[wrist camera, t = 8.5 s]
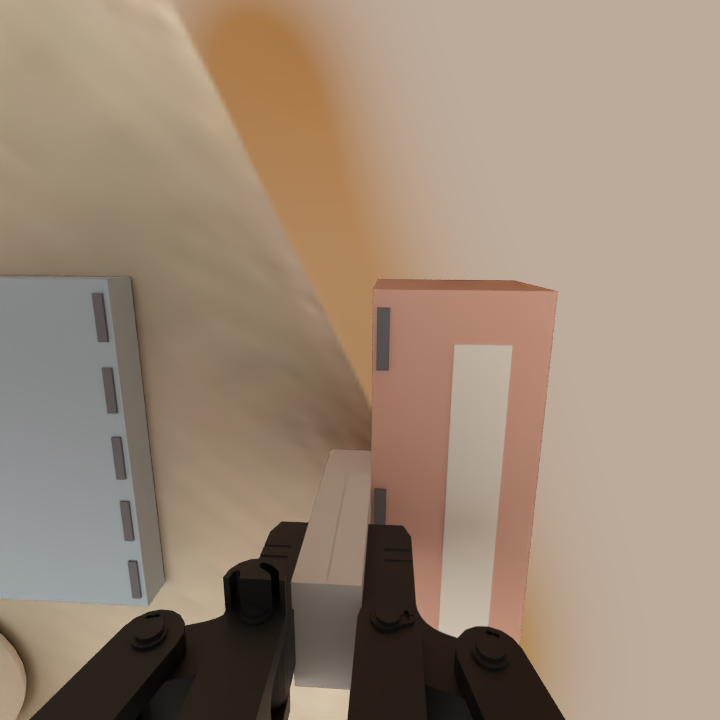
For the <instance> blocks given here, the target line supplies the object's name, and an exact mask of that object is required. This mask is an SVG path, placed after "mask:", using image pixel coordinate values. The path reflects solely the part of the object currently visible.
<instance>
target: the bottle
mask: <svg viewBox="0 0 720 720" xmlns="http://www.w3.org/2000/svg"><path fill="white" fill-rule="evenodd" d="M26 681H27V678H26V674H25V670H24V666H23V663H22V661H21V659H20V657H19V655H18V654H17V652H16V650H15V648H14V647H13V646H12V645H11V644H10V643H9V642H8V640H7V639H6V638H5V637H4V636H3V635H2V634H1V633H0V720H16V718H17V716H18V714H19V712H20V710H21V707H22V705H23V702H24V698H25V694H26Z"/></svg>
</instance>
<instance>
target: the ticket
mask: <svg viewBox="0 0 720 720" xmlns="http://www.w3.org/2000/svg"><path fill="white" fill-rule="evenodd" d="M164 583H165V578H164V569H163V561H162V552H161V543H160V534H159V525H158V516H157V508H156V499H155V490H154V481H153V472H152V463H151V455H150V446H149V437H148V428H147V419H146V410H145V402H144V393H143V384H142V375H141V366H140V358H139V349H138V340H137V331H136V322H135V313H134V305H133V296H132V287H131V278H130V277H107V276H0V598H1V599H18V600H36V601H54V602H71V603H89V604H107V605H125V606H142V607H148V606H149V605H150V603H151V602H152V600H153V599H154V598H155V596H156V595H157V593H158V592H159V590H160V589H161V587H162V586H163V584H164Z"/></svg>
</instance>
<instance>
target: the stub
mask: <svg viewBox="0 0 720 720" xmlns="http://www.w3.org/2000/svg"><path fill="white" fill-rule="evenodd" d="M557 293H558V292H557V291H554V290H550V289H546V288H542V287H538V286H534V285H530V284H526V283H522V282H517V281H503V280H502V281H501V280H500V281H499V280H396V279H378V280H377V282H376V285H375V286H374V289H373V351H372V433H371V522H370V524H380V525H403V526H404V527H405V529H406V530H407V532H408V533H409V535H410V536H411V541H412V554H413V568H414V582H415V596H416V605H417V610H418V612H419V614H420V615H421V617H422V618H423V619H424V621H425V622H426V623H427V624H429V625H430V626H431V627H433V628H434V629H436V630H438V631H440V632H442V633H445V634H448V635H450V636H453V637H456V638H458V637H459V636H460V635H461V634H462V633H463V632H464V631H465V630H466V629H469V628H472V627H475V626H489V627H492V628H495V629H498V630H501V631H503V632H504V633H506V634H507V635H509V636H510V637H512V638H513V639H514V640H515V641H516V642H517V643H518V645H519V646H520V637H521V627H522V618H523V608H524V600H525V591H526V582H527V572H528V563H529V553H530V545H531V535H532V526H533V517H534V507H535V498H536V488H537V479H538V469H539V461H540V450H541V442H542V432H543V423H544V414H545V405H546V395H547V387H548V377H549V368H550V357H551V349H552V340H553V331H554V321H555V312H556V302H557Z"/></svg>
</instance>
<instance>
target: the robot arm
mask: <svg viewBox="0 0 720 720" xmlns="http://www.w3.org/2000/svg"><path fill="white" fill-rule="evenodd" d="M370 522H371V451H368V450H338V449H331V451H330V454H329V457H328V461H327V464H326V467H325V471H324V474H323V477H322V481H321V484H320V487H319V491H318V494H317V497H316V501H315V504H314V507H313V511H312V514H311V517H310V521H309V523H304V522H281V523H280V524H279V525H277V526H276V527H275V528H274V529H273V530H272V531H271V532H270V534H269V536H268V538H267V541H266V543H265V547H264V548H263V550H262V552H261V555H260V557H259V559H250V560H247V561H244V562H241V563H239V564H237V565H236V566H234V567H233V568H231V569H230V570H229V571H228V572H227V573H226V575H225V576H224V577H223V582H224V595H225V608H226V611H225V613H224V615H222V616H220V617H218V618H216V619H213V620H209V621H206V622H201V623H196V624H191V625H186V626H185V623H184V621H183V619H182V617H181V615H179V614H177V613H176V612H174V611H171V610H157V611H151V612H147V613H145V614H143V615H141V616H139V617H136V618H135V619H133V620H132V621H131V622H129V623H128V624H127V625H125V626H124V627H123V628H122V629H121V630H120V631H119V632H118V633H117V634H116V635H115V636H114V637H113V638H112V639H111V640H110V641H109V642H108V643H107V644H106V645H105V646H104V647H103V648H102V649H101V650H100V651H99V652H98V653H97V654H96V655H95V656H94V657H93V658H92V659H90V660H89V661H88V662H87V663H86V664H85V665H84V666H83V667H82V668H81V669H80V670H79V671H78V672H77V673H76V674H75V675H74V676H73V677H72V678H71V679H70V680H69V681H68V682H67V683H66V684H65V685H64V686H63V687H62V688H61V689H60V690H59V691H58V692H57V693H56V694H55V695H54V696H53V697H52V698H51V699H50V700H49V701H48V702H47V703H46V704H45V705H44V706H43V707H42V708H41V709H40V710H39V711H38V712H37V713H36V714H35V715H34V716H33V717H32V718H31V719H30V720H288V717H289V713H290V686H291V682H292V678H293V673H294V680H295V686H303V687H318V688H333V689H348V690H350V699H349V710H348V720H565V718H564V717H563V715H562V713H561V712H560V710H559V709H558V707H557V705H556V704H555V702H554V700H553V699H552V697H551V695H550V694H549V692H548V690H547V689H546V687H545V686H544V684H543V682H542V681H541V679H540V677H539V676H538V674H537V673H536V671H535V669H534V668H533V666H532V664H531V663H530V661H529V659H528V658H527V656H526V654H525V653H524V651H523V650H522V648H521V647H520V646H519V645H518V643H517V642H516V641H515V640H514V639H513V638H512V637H510V636H509V635H507V634H506V633H504V632H503V631H501V630H498V629H495V628H492V627H489V626H475V627H472V628H469V629H466V630H465V631H464V632H463V633H462V634H461V635H460V636H459V637H458V638H456V637H453V636H450V635H448V634H445V633H442V632H440V631H438V630H436V629H434V628H433V627H431V626H430V625H429V624H427V623H426V622H425V621H424V619H423V618H422V617H421V615H420V614H419V612H418V610H417V605H416V596H415V582H414V568H413V554H412V541H411V536H410V535H409V533H408V532H407V530H406V529H405V527H404V526H403V525H380V524H370Z"/></svg>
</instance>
